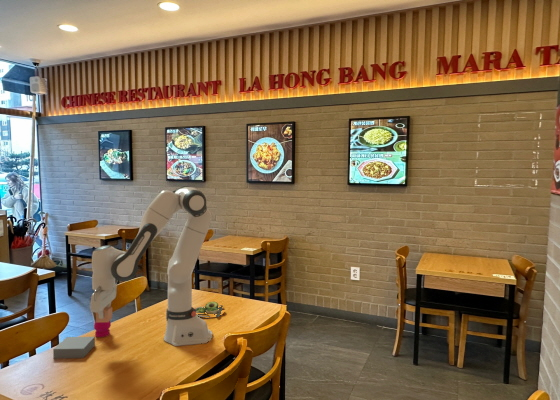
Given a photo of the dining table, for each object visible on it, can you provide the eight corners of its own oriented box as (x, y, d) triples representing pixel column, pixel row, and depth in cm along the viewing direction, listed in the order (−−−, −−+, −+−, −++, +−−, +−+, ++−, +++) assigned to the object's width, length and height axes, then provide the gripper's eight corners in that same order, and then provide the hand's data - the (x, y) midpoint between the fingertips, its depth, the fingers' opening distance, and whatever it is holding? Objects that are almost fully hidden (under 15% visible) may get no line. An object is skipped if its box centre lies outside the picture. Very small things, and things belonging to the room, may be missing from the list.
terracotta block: (112, 317, 169) (112, 306, 169) (108, 322, 164) (108, 310, 164) (100, 318, 168) (100, 307, 168) (96, 322, 164) (95, 310, 163)
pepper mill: (104, 338, 180) (104, 296, 179) (90, 336, 181) (90, 295, 180) (113, 332, 187) (113, 291, 186) (100, 331, 188) (100, 290, 187)
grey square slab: (94, 345, 172) (94, 336, 172) (83, 357, 160) (83, 348, 160) (66, 345, 171) (66, 337, 171) (53, 358, 159) (53, 349, 159)
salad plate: (232, 317, 211) (232, 309, 211) (200, 322, 203) (200, 314, 203) (220, 306, 228) (220, 299, 228) (190, 311, 220) (190, 303, 220)
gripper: (102, 290, 155) (103, 324, 156) (119, 277, 176) (119, 307, 176) (85, 291, 155) (86, 324, 156) (104, 277, 175) (105, 307, 176)
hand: (104, 315), depth 166 cm, fingers closed on terracotta block, 5 cm apart
